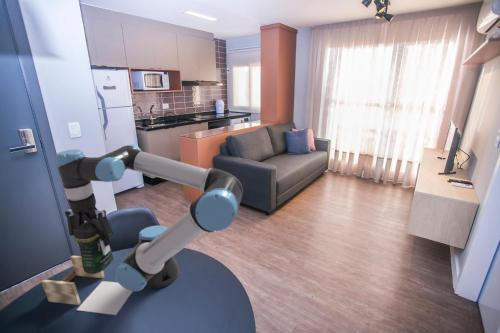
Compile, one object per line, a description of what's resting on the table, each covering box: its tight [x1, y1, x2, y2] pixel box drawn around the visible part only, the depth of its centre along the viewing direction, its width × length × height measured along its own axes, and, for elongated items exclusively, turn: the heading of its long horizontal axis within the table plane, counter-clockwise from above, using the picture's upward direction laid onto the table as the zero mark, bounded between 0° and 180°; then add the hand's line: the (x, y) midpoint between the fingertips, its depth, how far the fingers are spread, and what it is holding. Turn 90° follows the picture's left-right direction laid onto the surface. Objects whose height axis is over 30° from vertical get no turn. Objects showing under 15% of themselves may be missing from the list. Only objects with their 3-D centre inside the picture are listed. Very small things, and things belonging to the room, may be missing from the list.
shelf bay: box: [40, 255, 106, 306], centre depth 100 cm, size 14×14×10 cm
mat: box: [76, 280, 134, 316], centre depth 97 cm, size 16×14×1 cm
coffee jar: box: [73, 218, 114, 274], centre depth 89 cm, size 10×8×19 cm
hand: (96, 251), depth 90 cm, fingers closed on coffee jar, 8 cm apart
